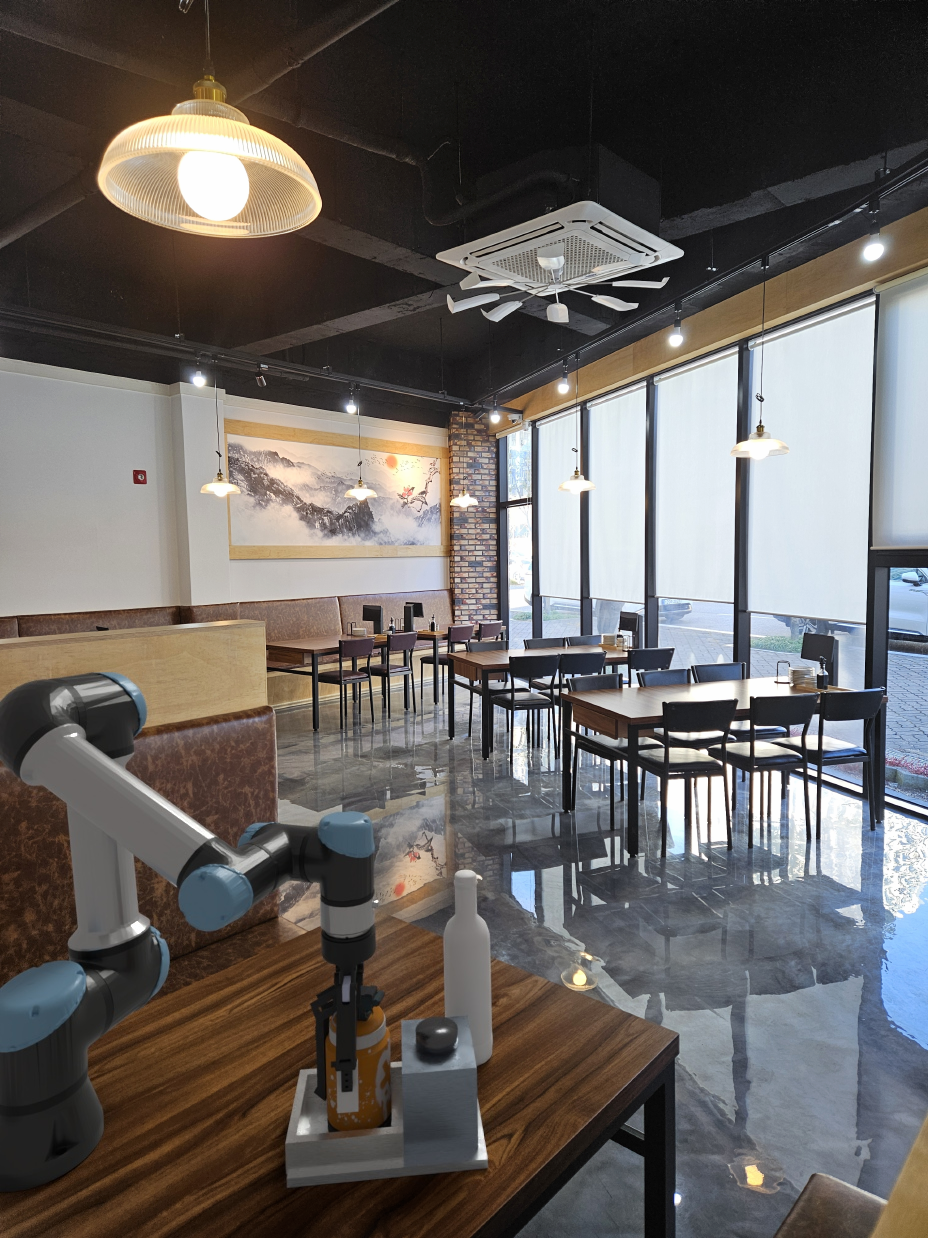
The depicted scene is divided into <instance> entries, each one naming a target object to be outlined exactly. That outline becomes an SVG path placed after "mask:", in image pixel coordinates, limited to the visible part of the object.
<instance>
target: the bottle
mask: <svg viewBox="0 0 928 1238" xmlns="http://www.w3.org/2000/svg"><path fill="white" fill-rule="evenodd" d="M477 885H478V879H477V873H476V872H475V871H473V870H471V869H461V870H458V871H456V872H455V873H454V880H453V886H454V905H455V906H454V911H455V912H454V915H453V916H452V917H451V918H449V919H448V921H447V922H446V925H445V928H444V931H443V938H442V939H443V941H442V942H443V977H444V978H443V980H444V981H443V983H444V984H443V986H444V987H443V988H444V1017H454V1016H467V1015H468V1020H469V1026H470V1032H471V1037H472V1043H473V1049H474V1055H475V1060H476V1066H477V1067H478V1066H480V1065H482V1064H485V1063H486V1062H487V1061H489V1060H490V1059H491V1057H492V1054H493V1046H494V1045H493V1044H494V1040H493V1039H494V1038H493V1029H492V1028H493V1022H492V1020H493V1019H492V1016H493V1015H492V971H491V967H492V966H491V934H490V931H489V930H490V929H489V928H488V924H487V921H485V920H484V919H483V918H482V916H480V915H479V914H478V910H477V909H478V906H477V904H478V900H477V896H478V895H477V894H478V893H477V892H478V891H477Z"/></svg>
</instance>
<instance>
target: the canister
mask: <svg viewBox="0 0 928 1238" xmlns="http://www.w3.org/2000/svg"><path fill="white" fill-rule="evenodd" d="M335 989H336V987H335V985H334V984H333V985H331V986H329V987H328V988H326V989H324V990H322V991H321V992H318V993H317V994H316V1000H313V1001H311V1002H310V1003H309V1005H310V1008H311V1011H312V1014H313V1017H314V1019H315V1027H314V1035H315V1039H314V1040H315V1045H316V1046H315V1048H316V1051H315V1052H316V1054H315V1055H316V1057H315V1058H316V1068H317V1087H316V1089H315V1091H314V1093H315V1094H316V1095H317V1096H319V1097H320V1098H321V1099H322V1100H324V1101H326V1099H327V1123H328V1132H329V1133H330V1132H341V1131H352V1130H363V1129H374V1128H385V1127H390V1125H391V1122H392V1099H391V1061H392V1060H391V1058H392V1057H391V1033H390V1029H389V1028H388V1026H387V1023H386V1021H387V1020H386V1015H385V1012H384V1011H383V1009H382V1008H381V1007H380V1004H381V1002H382V1001H383V999H384V998H385V996H386V991H384V990H382V989H379V990H378V986H377V985H376V984H375V985H372V984H370V985H363V986H361V1005H360V1006H359V1007H358V1008H357V1045H356V1057H357V1059H358V1098H359V1110H358V1112H347V1113H337V1071H335V1067H334V1068H331V1062H332V1061H336V1015H337V1007H336V1005H335ZM356 998H357V995H356Z"/></svg>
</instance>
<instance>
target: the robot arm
mask: <svg viewBox="0 0 928 1238" xmlns="http://www.w3.org/2000/svg"><path fill="white" fill-rule="evenodd" d="M147 718H148V707H147V703H146V699H145V697H144V695H143V693H142V691H141V690H140V688H139V686H138V685H137V684H136V683H134V682H132V680H131V679H130V678H129V677H127V676H126V675H123V674H121V673H117V672H113V671H111V672H110V671H109V672H107V671H106V672H104V671H103V672H100V671H99V672H94V671H92V672H91V671H90V672H87V673H81V674H80V673H79V674H74V675H68V676H67V675H66V676H62V677H61V676H60V677H54V678H48V679H47V678H42V679H41V678H40V679H36V680H31V681H27V682H25V683H22V684H21V685H19V686H16V687H15V688H13V689H12V690H11V691H9V692H8V693H6V695H5V696H4V697H2V699H1V700H0V761H1V763H2V764H3V766H4V767H6V769H7V770H9V771H10V772H11V773H12V774H13V775H14V776H15V777H17V778H18V779H19V780H21V781H22V782H23V783H25V784H26V785H28V786H32V787H37V786H43V787H44V788H45V789H47V790H48V791H50V792H51V793H53V794H54V795H55V796H56V797H57V798H59V799H60V800H61V801H63V802H64V803H65V804H66V811H67V820H68V821H67V823H68V835H69V844H70V845H69V846H70V854H71V866H72V875H73V876H72V878H73V890H74V899H75V908H76V909H75V910H76V919H77V928H76V930H75V931H74V932H73V933H72V935H70V937H69V938H68V941H67V949H68V951H67V952H68V960H65V959H64V960H63V959H62V960H54V961H49V962H45V963H42V965H40V966H38V967H36V966H33V967H31V968H29V969H26V970H24V971H22V972H20V973H19V974H17V975H16V976H14V977H13V978H11V979H9V980H8V981H7V982H6V983H5V984H4V985H2V986H1V987H0V1192H2V1193H4V1192H5V1193H12V1192H20V1191H25V1190H29V1189H33V1188H36V1187H38V1186H42V1185H45V1184H47V1183H50V1182H52V1181H53V1180H55V1179H58V1178H59V1177H61V1176H63V1175H65V1174H67V1173H68V1172H70V1171H71V1170H73V1169H74V1168H76V1167H77V1166H78V1165H80V1164H81V1163H82V1162H83V1161H84V1160H85V1159H86V1158H88V1157H89V1156H90V1154H91V1153H92V1152H93V1151H94V1150H95V1148H97V1146H98V1144H99V1142H100V1141H101V1138H102V1136H103V1133H104V1124H105V1121H104V1109H103V1107H102V1104H101V1102H100V1100H99V1098H98V1095H97V1093H96V1091H95V1088H94V1086H93V1084H92V1082H91V1080H90V1077H89V1067H88V1066H89V1065H88V1064H89V1063H88V1049H89V1047H90V1046H91V1045H92V1044H94V1043H95V1042H96V1041H98V1040H99V1039H100V1038H101V1037H103V1036H104V1035H105V1034H107V1033H108V1032H109V1031H111V1030H112V1029H113V1028H115V1027H116V1026H117V1025H118V1024H120V1023H121V1022H122V1021H123V1020H125V1019H126V1018H128V1017H129V1016H130V1015H132V1014H133V1013H134V1012H137V1011H139V1010H140V1009H142V1008H143V1007H144V1006H145V1005H147V1003H148V1002H149V1001H150V1000H151V999H152V997H153V996H155V995H156V994H157V993H158V992H159V991H160V990H161V988H162V987H163V985H164V984H165V982H166V979H167V977H168V974H169V969H170V960H171V959H170V958H171V957H170V951H169V947H168V943H167V942H166V940H165V938H161V935H162V933H160V931H159V930H158V929H156V928H155V927H154V926H152V925H151V920H150V918H148V917H147V916H145V915H143V914H142V913H140V912H139V911H140V910H139V903H138V891H137V890H138V889H137V880H136V869H135V858H134V857H136V858H138V859H139V860H140V861H141V862H143V863H144V864H145V865H147V866H148V867H149V868H150V869H152V870H153V871H155V872H156V873H157V874H158V875H160V876H161V877H162V878H163V879H165V880H167V881H168V882H169V883H170V884H172V885H173V886H174V887H176V888H177V889H178V890H179V892H178V900H177V901H178V906H179V909H180V912H182V913H183V915H184V917H185V921H186V922H187V923H188V924H189V925H190V926H192V927H193V928H194V929H196V930H199V931H203V932H214V931H217V930H220V929H222V928H224V927H225V926H228V925H229V924H231V923H233V922H234V921H237V920H239V919H240V918H242V917H243V916H245V914H246V913H247V912H248V911H249V910H251V908H253V907H254V906H256V905H257V904H259V902H261V901H262V900H263V899H265V898H266V897H268V896H270V895H271V894H272V893H274V892H275V891H277V890H278V889H279V888H280V887H282V886H283V885H285V884H286V883H287V882H292V881H293V882H300V883H311V884H314V883H315V884H319V894H320V897H319V913H320V917H319V918H320V919H319V922H320V923H319V924H320V927H321V932H320V940H321V941H320V943H321V957H322V958H323V961H325V962H327V963H328V964H331V965H334V966H335V972H334V973H333V985H335V987H336V989H335V1005H336V1007H337V1015H336V1061H332V1062H331V1068H334V1067H335V1071H337V1113H347V1112H358V1110H359V1098H358V1059H357V1057H356V1045H357V1008H358V1007H359V1006H360V1005H361V986H364V973H365V962H366V961H368V960H369V959H371V958H372V957H373V956H374V954H375V953H376V949H377V944H376V943H377V941H376V940H377V939H376V938H377V937H376V925H375V924H374V923H375V922H376V909H378V908H379V907H380V901H379V900H377V899H376V900H375V894H376V893H375V890H376V889H375V850H376V845H375V840H374V829H373V821H372V820H371V818H370V817H369V816H368V815H367V814H366V813H363V812H360V811H354V810H352V811H351V810H348V811H335V812H330V813H329V814H327V815H324V816H323V817H322V818H321V819H320V820H319V822H318V826H309V825H297V824H288V823H280V822H278V821H277V822H276V821H271V822H256V823H253V824H251V825H249V826H248V827H247V828H245V831H244V833H243V834H242V835H241V836H240V838H239V839H238V843H237V847H236V848H234V847H232V846H231V845H230V844H228V843H227V842H226V841H224V840H223V839H222V838H220V837H219V836H218V835H216V834H214V833H213V832H212V831H211V830H209V829H207V828H206V827H205V826H204V825H202V824H201V823H199V822H198V821H197V820H196V819H194V818H193V817H191V816H190V815H188V814H187V813H186V812H184V811H183V810H182V809H180V808H179V807H178V806H177V805H175V804H173V803H172V802H171V801H170V800H168V799H167V798H166V797H164V796H163V795H161V793H159V792H158V791H156V790H155V789H153V788H151V787H150V786H149V785H148V784H146V783H145V782H143V781H142V780H141V779H140V778H138V777H137V776H136V775H134V774H133V773H131V772H130V771H129V770H127V768H126V765H127V763H128V762H129V761H130V760H131V759H132V758H133V756H134V755H135V754H136V753H135V752H136V751H135V743H134V742H135V741H134V739H135V737H137V736H138V734H140V733H141V732H142V730H143V727H145V725H146V722H147ZM356 995H357V998H356Z"/></svg>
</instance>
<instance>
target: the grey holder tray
mask: <svg viewBox="0 0 928 1238" xmlns="http://www.w3.org/2000/svg"><path fill="white" fill-rule="evenodd" d="M400 1022H401V1023H400V1024H401V1033H400V1034H401V1036H400V1037H401V1061H392V1062H391V1099H392V1122H391V1125H390V1127H385V1128H374V1129H363V1130H352V1131H341V1132H330V1133H329V1132H328V1123H327V1099H326V1101H324V1100H322V1099H321V1098H320V1097H319V1096H317V1095H316V1094H315V1093H314V1091H315V1089H316V1087H317V1067H316V1068H306V1069H300V1070H299V1075H298V1080H297V1084H296V1088H295V1089H296V1090H295V1094H294V1099H293V1105H292V1109H291V1115H290V1118H289V1124H288V1129H287V1133H286V1139H285V1144H284V1145H285V1147H284V1148H285V1175H286V1188H287V1189H288V1188H289V1189H291V1188H300V1187H307V1186H308V1187H309V1186H319V1185H321V1186H322V1185H331V1184H339V1183H349V1182H351V1183H352V1182H361V1181H369V1180H370V1181H373V1180H380V1179H381V1180H382V1179H389V1178H390V1179H391V1178H402V1177H409V1176H410V1177H411V1176H420V1175H421V1176H423V1175H431V1174H441V1173H442V1174H443V1173H450V1172H451V1173H452V1172H461V1171H474V1170H481V1169H488V1168H489V1160H488V1152H487V1147H486V1141H485V1136H484V1128H483V1121H482V1115H481V1111H480V1110H481V1109H480V1105H479V1099H478V1097H479V1096H478V1070H477V1069H478V1068H477V1067H478V1066H476V1060H475V1055H474V1049H473V1043H472V1037H471V1032H470V1026H469V1020H468V1015H467V1016H454V1017H445V1016H431V1017H426V1018H417V1019H406V1020H405V1019H403V1020H402V1019H401V1021H400Z"/></svg>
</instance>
